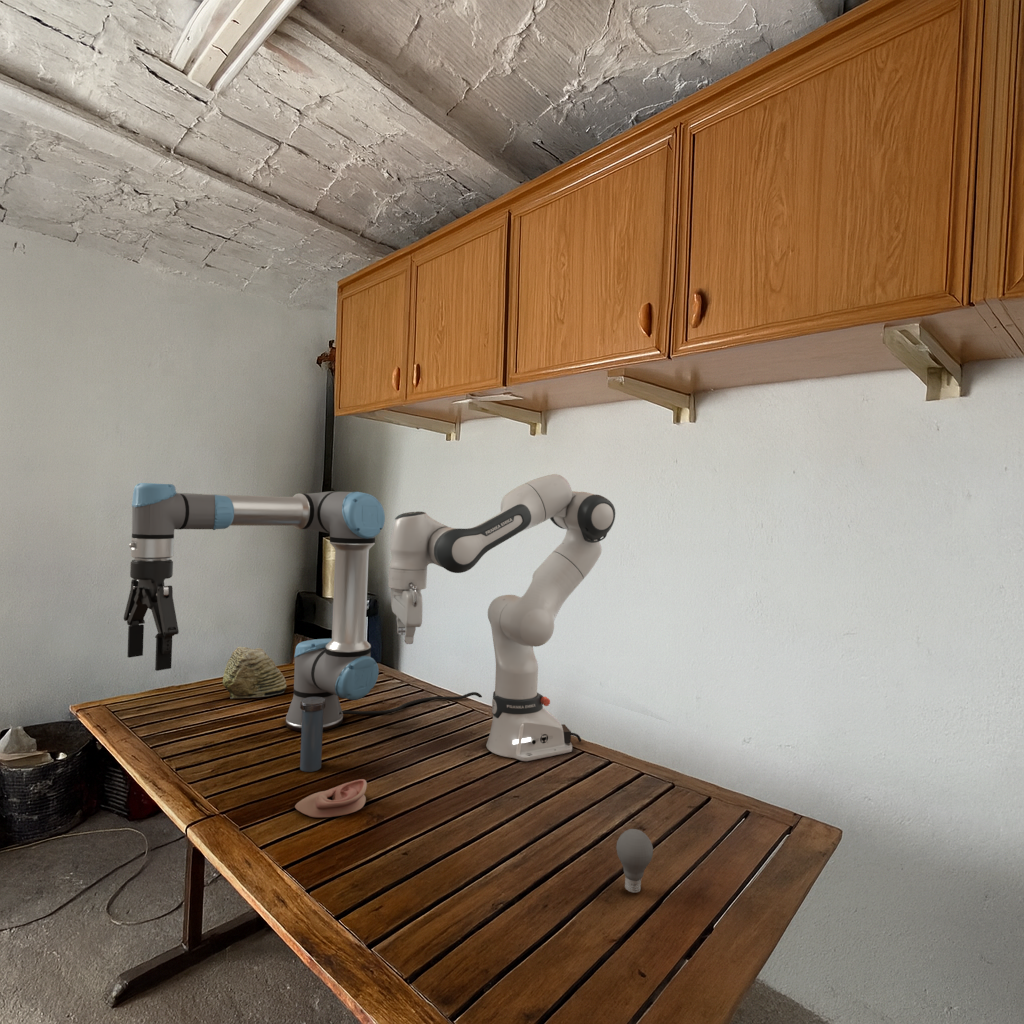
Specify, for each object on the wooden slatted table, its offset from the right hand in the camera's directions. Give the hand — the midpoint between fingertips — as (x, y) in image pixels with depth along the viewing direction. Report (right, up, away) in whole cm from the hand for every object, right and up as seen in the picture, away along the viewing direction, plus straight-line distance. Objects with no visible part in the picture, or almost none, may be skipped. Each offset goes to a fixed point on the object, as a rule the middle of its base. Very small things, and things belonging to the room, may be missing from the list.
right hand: (405, 638), depth 149 cm
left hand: (-49, -1, -20) cm, 53 cm away
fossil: (-55, -27, +49) cm, 79 cm away
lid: (-21, -14, -2) cm, 26 cm away
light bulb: (+45, -34, -43) cm, 71 cm away
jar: (-22, -30, -1) cm, 37 cm away
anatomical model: (-12, -31, -19) cm, 38 cm away
